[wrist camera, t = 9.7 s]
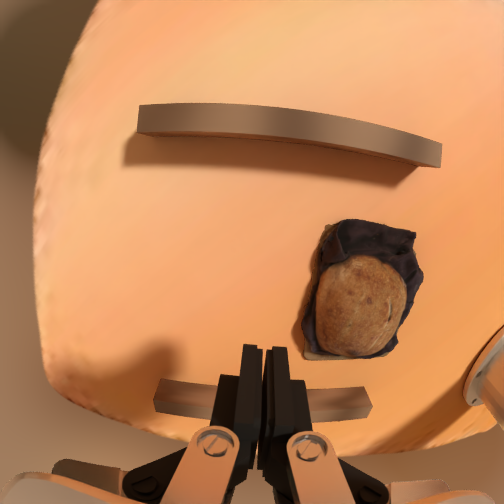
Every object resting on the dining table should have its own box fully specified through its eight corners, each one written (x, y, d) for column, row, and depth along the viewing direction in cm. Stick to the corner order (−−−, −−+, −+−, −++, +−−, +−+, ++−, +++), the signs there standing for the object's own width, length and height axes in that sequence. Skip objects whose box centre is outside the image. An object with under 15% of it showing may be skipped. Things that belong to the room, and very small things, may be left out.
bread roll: (388, 351, 21) (406, 379, 17) (291, 354, 20) (298, 387, 17) (423, 226, 17) (453, 240, 14) (313, 213, 17) (329, 226, 14)
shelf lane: (420, 144, 15) (442, 143, 13) (358, 398, 21) (366, 417, 19) (154, 112, 15) (139, 105, 12) (163, 391, 21) (155, 411, 18)
